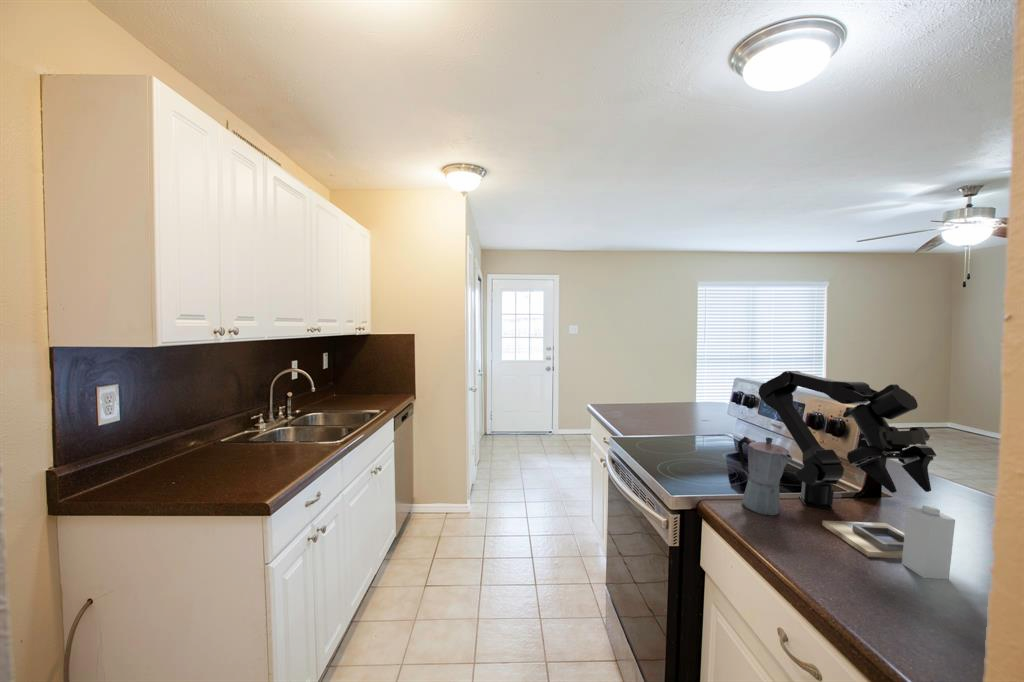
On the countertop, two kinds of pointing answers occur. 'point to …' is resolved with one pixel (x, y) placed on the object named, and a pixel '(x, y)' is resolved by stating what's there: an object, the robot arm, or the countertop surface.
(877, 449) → the robot arm
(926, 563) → the white rectangular bottle
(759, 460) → the moka pot
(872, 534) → the baseplate
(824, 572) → the countertop surface
